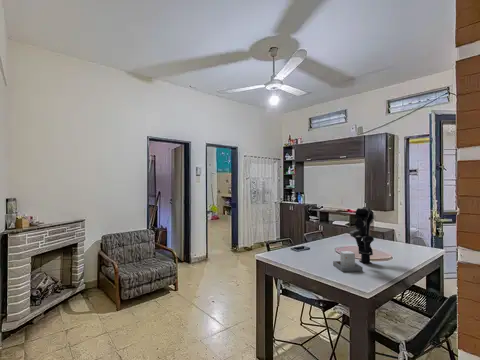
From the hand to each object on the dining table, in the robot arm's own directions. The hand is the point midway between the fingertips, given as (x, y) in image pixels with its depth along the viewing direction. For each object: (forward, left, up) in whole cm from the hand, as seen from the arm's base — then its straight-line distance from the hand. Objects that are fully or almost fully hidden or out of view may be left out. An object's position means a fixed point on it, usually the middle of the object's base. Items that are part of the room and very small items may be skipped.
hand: (362, 248), depth 183 cm
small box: (+2, -12, -13) cm, 17 cm away
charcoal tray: (+2, -12, -13) cm, 18 cm away
